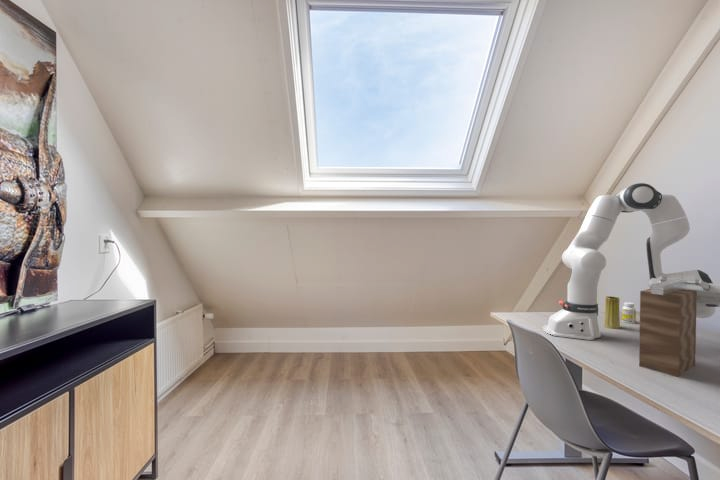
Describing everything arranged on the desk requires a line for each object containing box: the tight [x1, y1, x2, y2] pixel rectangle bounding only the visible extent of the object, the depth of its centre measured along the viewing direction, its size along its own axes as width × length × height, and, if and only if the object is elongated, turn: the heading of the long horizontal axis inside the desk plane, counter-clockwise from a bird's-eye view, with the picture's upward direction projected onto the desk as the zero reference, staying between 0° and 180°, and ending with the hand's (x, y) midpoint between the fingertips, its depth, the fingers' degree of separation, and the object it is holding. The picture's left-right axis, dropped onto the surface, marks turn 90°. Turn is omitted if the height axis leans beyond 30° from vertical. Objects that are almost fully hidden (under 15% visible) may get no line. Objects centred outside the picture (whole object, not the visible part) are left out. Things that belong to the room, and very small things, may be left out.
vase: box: [603, 296, 621, 330], centre depth 156 cm, size 6×6×14 cm
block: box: [651, 279, 687, 295], centre depth 112 cm, size 22×3×3 cm, turn 121°
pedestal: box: [638, 288, 697, 378], centre depth 112 cm, size 16×10×26 cm, turn 120°
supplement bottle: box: [621, 301, 637, 324], centre depth 164 cm, size 5×5×10 cm
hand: (679, 279), depth 117 cm, fingers open, 8 cm apart
